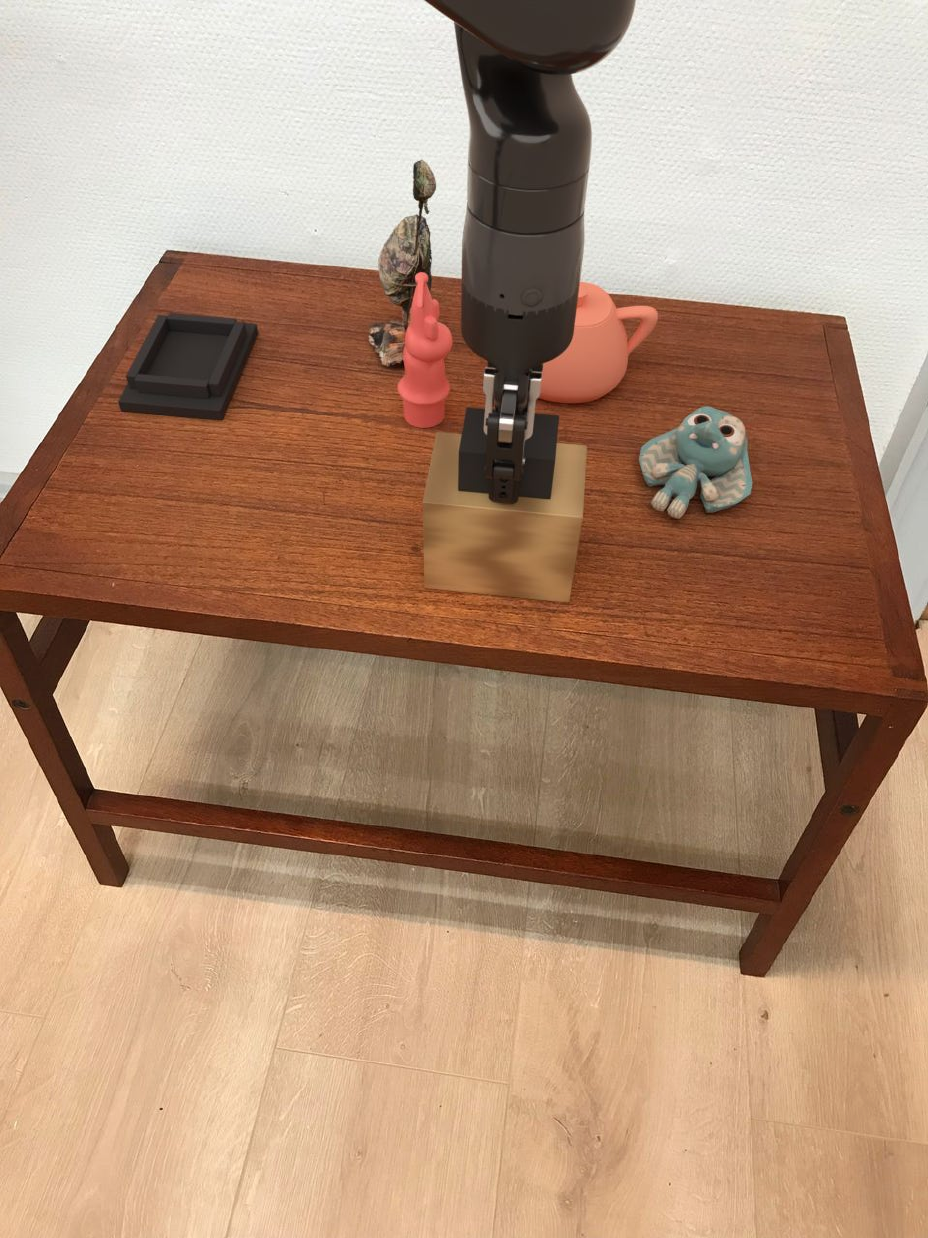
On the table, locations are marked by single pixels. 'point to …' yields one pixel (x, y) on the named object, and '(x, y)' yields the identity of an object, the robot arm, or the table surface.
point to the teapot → (595, 349)
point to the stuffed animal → (699, 462)
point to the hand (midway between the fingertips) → (507, 468)
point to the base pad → (188, 366)
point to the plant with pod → (404, 267)
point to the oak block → (502, 531)
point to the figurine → (425, 361)
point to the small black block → (535, 453)
